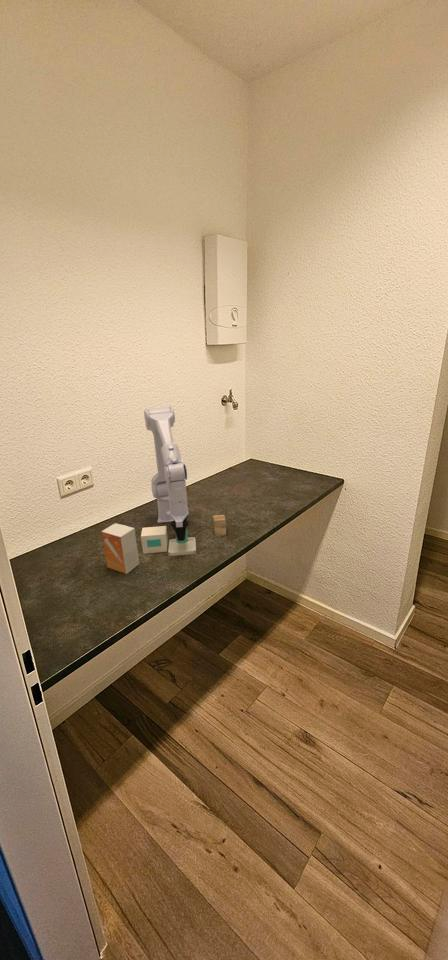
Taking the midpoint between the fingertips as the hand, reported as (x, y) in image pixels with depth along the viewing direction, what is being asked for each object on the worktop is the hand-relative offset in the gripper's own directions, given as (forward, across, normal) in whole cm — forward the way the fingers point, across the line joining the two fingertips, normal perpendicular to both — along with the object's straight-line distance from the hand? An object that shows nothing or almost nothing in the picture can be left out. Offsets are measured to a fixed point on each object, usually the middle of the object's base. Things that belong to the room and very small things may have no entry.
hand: (181, 536), depth 131 cm
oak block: (+4, -8, +14) cm, 17 cm away
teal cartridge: (+2, 0, 0) cm, 2 cm away
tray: (+4, 0, 0) cm, 4 cm away
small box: (+4, +8, -18) cm, 21 cm away
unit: (+4, -2, -9) cm, 10 cm away
